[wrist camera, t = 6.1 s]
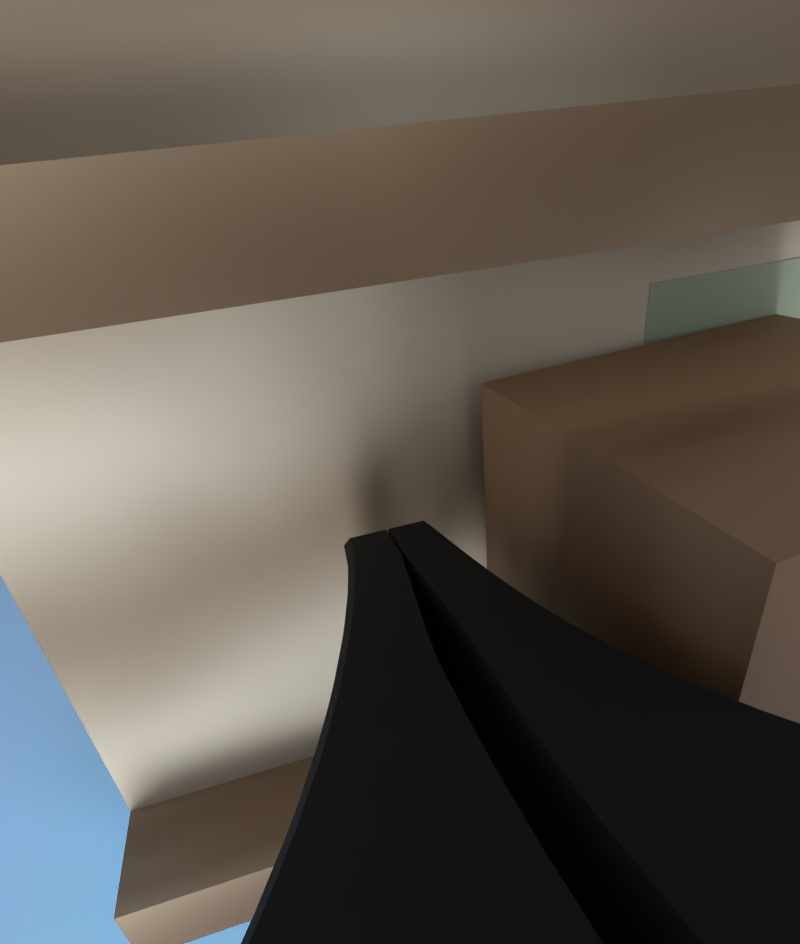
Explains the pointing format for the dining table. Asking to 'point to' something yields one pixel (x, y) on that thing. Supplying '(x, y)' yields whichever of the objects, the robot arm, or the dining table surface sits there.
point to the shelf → (324, 333)
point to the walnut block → (661, 502)
